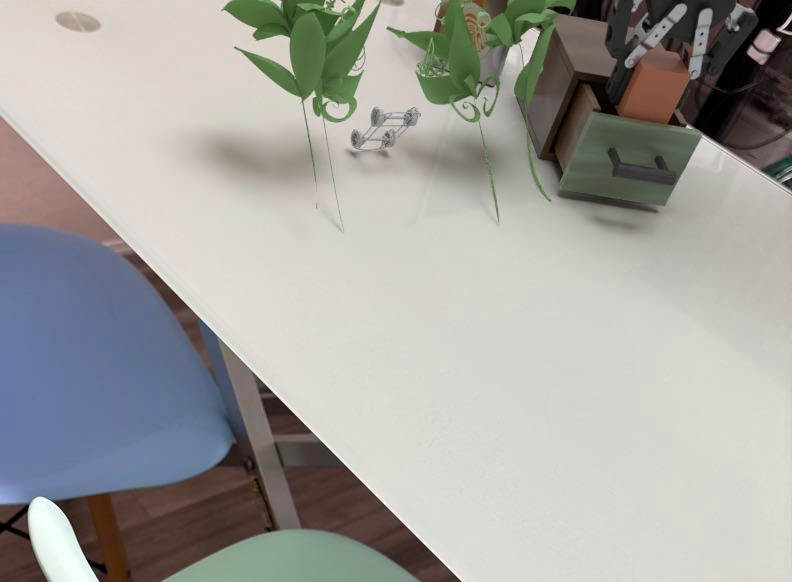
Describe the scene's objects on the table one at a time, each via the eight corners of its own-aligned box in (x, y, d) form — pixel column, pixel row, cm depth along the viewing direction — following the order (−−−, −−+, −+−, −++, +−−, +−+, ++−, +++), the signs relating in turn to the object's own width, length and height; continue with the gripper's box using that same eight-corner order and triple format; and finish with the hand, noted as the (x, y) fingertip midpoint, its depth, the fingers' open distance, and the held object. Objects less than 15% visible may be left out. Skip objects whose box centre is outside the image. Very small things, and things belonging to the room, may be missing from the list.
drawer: (676, 230, 99) (716, 159, 94) (570, 213, 98) (604, 139, 92) (632, 142, 111) (666, 73, 105) (537, 125, 110) (565, 55, 104)
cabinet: (646, 176, 108) (690, 91, 101) (538, 158, 107) (574, 70, 99) (616, 113, 118) (653, 31, 110) (515, 95, 116) (547, 11, 109)
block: (653, 101, 101) (677, 52, 97) (666, 125, 97) (692, 75, 94) (607, 93, 100) (630, 44, 96) (619, 117, 97) (642, 66, 93)
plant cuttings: (526, 251, 107) (496, 49, 107) (634, 189, 91) (598, -48, 91) (223, 266, 96) (190, 41, 96) (284, 199, 79) (244, -72, 80)
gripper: (662, -83, 82) (578, 112, 95) (819, -52, 84) (716, 136, 97) (640, -113, 87) (563, 77, 100) (788, -83, 89) (694, 100, 102)
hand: (639, 105), depth 98 cm, fingers closed on block, 5 cm apart
